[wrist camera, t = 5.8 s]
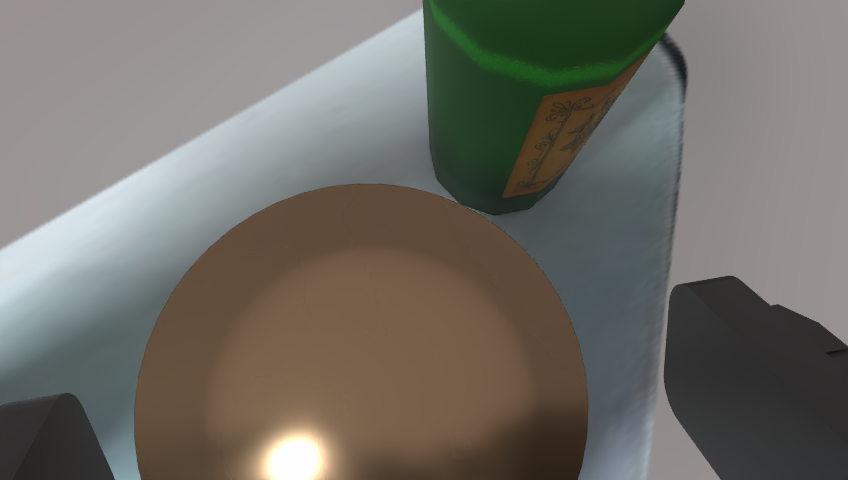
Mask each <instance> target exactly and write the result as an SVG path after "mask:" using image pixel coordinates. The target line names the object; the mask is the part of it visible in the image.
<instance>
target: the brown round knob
mask: <svg viewBox="0 0 848 480" xmlns="http://www.w3.org/2000/svg"><path fill="white" fill-rule="evenodd" d="M587 424H588V395H587V383H586V374H585V369H584V364H583V359H582V355H581V350H580V346H579V343H578V340H577V337H576V334H575V331H574V329H573V326H572V323H571V320H570V318H569V316H568V314H567V312H566V310H565V308H564V306H563V304H562V302H561V300H560V298H559V295H558V294H557V292H556V291H555V289H554V288H553V286H552V285H551V283H550V282H549V280H548V278H547V277H546V275H545V274H544V272H543V271H542V270H541V269H540V267H539V266H538V265H537V264H536V263H535V262H534V260H533V259H532V258H531V257H530V256H529V255H528V253H527V252H526V251H525V250H524V249H523V248H522V247H521V246H520V245H519V244H517V243H516V242H515V241H514V240H513V239H512V238H511V237H510V236H509V235H508V234H507V233H505V232H504V231H503V230H501V229H500V228H499V227H497V226H496V225H494V224H493V223H492V222H490V221H489V220H487V219H486V218H485V217H483V216H481V215H479V214H478V213H476V212H474V211H472V210H470V209H468V208H466V207H465V206H463V205H461V204H459V203H456V202H454V201H451V200H449V199H446V198H444V197H441V196H438V195H436V194H433V193H429V192H425V191H421V190H417V189H413V188H409V187H402V186H394V185H386V184H350V185H341V186H332V187H327V188H322V189H318V190H314V191H310V192H305V193H302V194H299V195H296V196H294V197H291V198H288V199H285V200H283V201H280V202H277V203H275V204H273V205H271V206H269V207H267V208H265V209H263V210H261V211H259V212H258V213H256V214H254V215H252V216H250V217H249V218H247V219H246V220H244V221H243V222H241V223H240V224H238V225H237V226H235V227H234V228H232V229H231V230H230V231H228V232H227V233H226V234H225V235H224V236H222V237H221V238H220V239H219V240H218V241H217V242H215V243H214V244H213V245H212V246H211V247H210V248H208V249H207V251H206V252H205V253H204V254H203V255H202V256H201V257H200V258H199V259H198V260H197V261H196V262H195V263H194V265H193V266H192V267H191V268H190V269H189V270H188V272H187V273H186V274H185V276H184V277H183V278H182V280H181V281H180V283H179V284H178V285H177V287H176V288H175V289H174V291H173V292H172V294H171V296H170V297H169V299H168V301H167V303H166V305H165V306H164V308H163V310H162V312H161V314H160V315H159V317H158V319H157V322H156V324H155V327H154V329H153V331H152V334H151V336H150V339H149V341H148V344H147V346H146V350H145V354H144V357H143V361H142V365H141V369H140V372H139V377H138V384H137V391H136V399H135V412H134V438H135V446H136V454H137V462H138V469H139V473H140V476H141V480H578V477H579V473H580V470H581V467H582V462H583V456H584V450H585V444H586V439H587Z"/></svg>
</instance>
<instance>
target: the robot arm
mask: <svg viewBox="0 0 848 480" xmlns="http://www.w3.org/2000/svg"><path fill="white" fill-rule="evenodd" d="M664 383H665V390H666V393H667V397H668V401H669V403H670V406H671V408H672V410H673V412H674V414H675V416H676V418H677V419H678V421H679V422H680V424H681V425H682V426H683V428H684V429H685V430H686V432H687V433H688V435H689V436H690V437H691V439H692V440H693V442H694V443H695V444H696V446H697V447H698V449H699V450H700V451H701V453H702V454H703V456H704V457H705V458H706V460H707V461H708V462H709V464H710V465H711V467H712V468H713V469H714V471H715V472H716V474H717V475H718V476H719V477H720V479H721V480H848V346H847V345H846V344H844V343H843V342H842V341H841V340H839V339H838V338H837V337H836V336H834V335H833V334H832V333H831V332H829V331H828V330H827V329H826V328H824V327H823V326H822V325H821V324H819V323H818V322H816V321H813V320H811V319H809V318H807V317H804V316H803V315H800V314H798V313H796V312H794V311H791V310H789V309H787V308H785V307H783V306H781V305H772V306H770V305H769V304H768V303H767V302H765V301H764V300H763V299H762V298H761V297H760V296H758V295H757V294H756V293H755V292H754V291H752V290H751V289H750V288H749V287H748V286H747V285H745V284H744V283H743V282H742V281H741V280H739V279H738V278H736V277H734V276H725V277H719V278H713V279H708V280H702V281H696V282H690V283H685V284H679V285H676V286H675V287H674V288H673V290H672V292H671V295H670V300H669V311H668V326H667V338H666V352H665V364H664ZM0 480H115V479H114V476H113V474H112V472H111V469H110V467H109V465H108V463H107V460H106V458H105V456H104V454H103V451H102V449H101V447H100V445H99V443H98V440H97V438H96V436H95V434H94V431H93V429H92V427H91V425H90V422H89V420H88V418H87V416H86V413H85V411H84V409H83V407H82V405H81V403H80V402H79V400H78V399H77V398H76V397H75V396H74V395H72V394H70V393H65V394H59V395H53V396H47V397H42V398H36V399H30V400H24V401H19V402H13V403H7V404H4V405H2V406H1V407H0Z"/></svg>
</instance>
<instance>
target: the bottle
mask: <svg viewBox="0 0 848 480" xmlns="http://www.w3.org/2000/svg"><path fill="white" fill-rule="evenodd" d="M684 1H685V0H423V15H424V37H425V58H426V79H427V100H428V121H429V142H430V152H431V156H432V161H433V165H434V169H435V174H436V178H437V180H438V181H439V183H440V184H441V185H442V186H443V187H444V188H445V189H446V190H447V191H448V192H449V193H450V194H451V195H452V196H453V197H454V198H455V199H456V200H457V201H458V202H459V203H460V204H461V205H464V206H467V207H470V208H473V209H477V210H480V211H483V212H486V213H489V214H492V215H498V214H504V213H509V212H515V211H520V210H525V209H529V208H530V207H532V206H533V205H534V204H535V203H536V202H537V201H539V200H540V199H541V198H542V197H543V196H544V195H546V194H547V193H548V192H549V191H550V190H551V189H553V188H554V186H555V185H556V184H557V182H558V181H559V179H560V178H561V177H562V175H563V174H564V172H565V171H566V170H567V168H568V167H569V165H570V164H571V162H572V161H573V160H574V158H575V157H576V155H577V154H578V153H579V151H580V150H581V148H582V147H583V146H584V144H585V143H586V141H587V140H588V139H589V137H590V136H591V134H592V133H593V132H594V130H595V129H596V127H597V126H598V125H599V123H600V122H601V120H602V119H603V117H604V116H605V115H606V113H607V112H608V110H609V109H610V108H611V106H612V105H613V103H614V102H615V101H616V99H617V98H618V96H619V95H620V94H621V92H622V91H623V89H624V88H625V87H626V85H627V84H628V82H629V81H630V80H631V78H632V77H633V75H634V74H635V72H636V71H637V70H638V68H639V67H640V65H641V64H642V63H643V61H644V60H645V58H646V57H647V56H648V54H649V53H650V51H651V50H652V49H653V47H654V46H655V44H656V43H657V42H658V40H659V39H660V37H661V36H662V35H663V33H664V32H665V30H666V29H667V27H668V26H669V24H670V23H671V22H672V20H673V19H674V18H675V16H676V15H677V13H678V12H679V10H680V9H681V8H682V6H683V5H684Z"/></svg>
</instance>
